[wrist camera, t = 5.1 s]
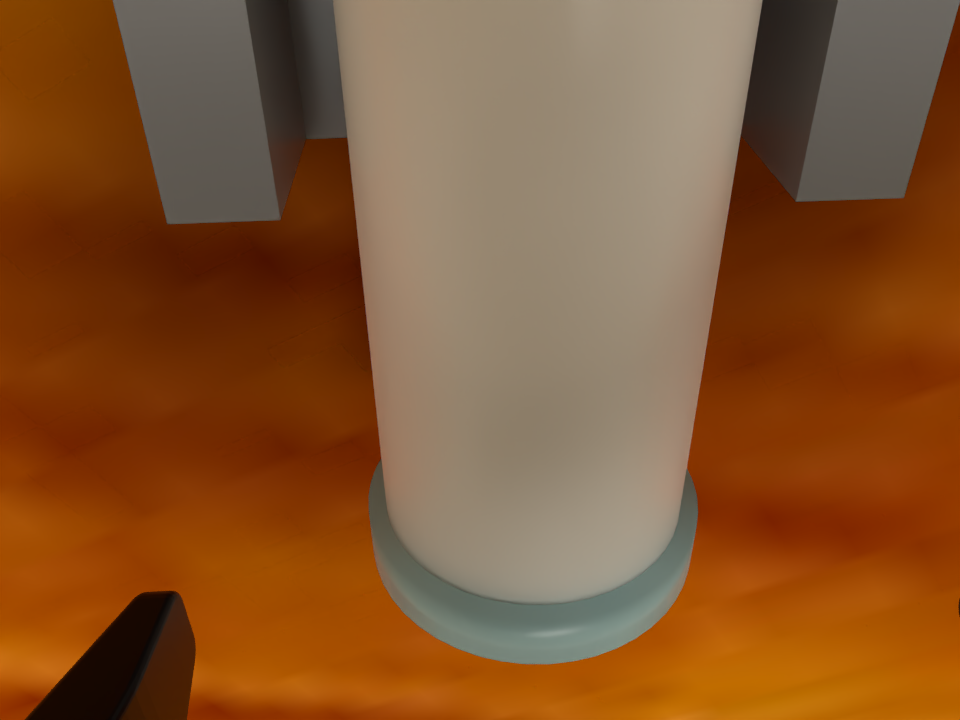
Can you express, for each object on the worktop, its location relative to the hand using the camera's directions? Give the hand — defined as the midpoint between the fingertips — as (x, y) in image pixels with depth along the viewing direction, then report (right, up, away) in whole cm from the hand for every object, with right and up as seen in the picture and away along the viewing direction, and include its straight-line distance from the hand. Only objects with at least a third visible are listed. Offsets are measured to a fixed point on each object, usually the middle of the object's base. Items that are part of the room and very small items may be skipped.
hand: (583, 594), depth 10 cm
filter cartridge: (-1, +8, +3) cm, 9 cm away
